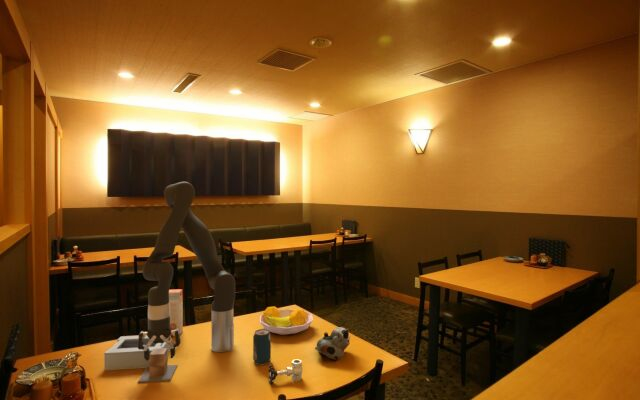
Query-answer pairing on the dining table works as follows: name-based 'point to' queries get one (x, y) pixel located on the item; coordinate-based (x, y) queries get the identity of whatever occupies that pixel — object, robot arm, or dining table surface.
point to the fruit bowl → (285, 320)
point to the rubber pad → (166, 377)
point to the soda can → (261, 346)
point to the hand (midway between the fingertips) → (159, 358)
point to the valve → (287, 371)
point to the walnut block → (158, 362)
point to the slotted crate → (129, 353)
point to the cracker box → (176, 310)
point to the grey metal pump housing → (334, 343)
